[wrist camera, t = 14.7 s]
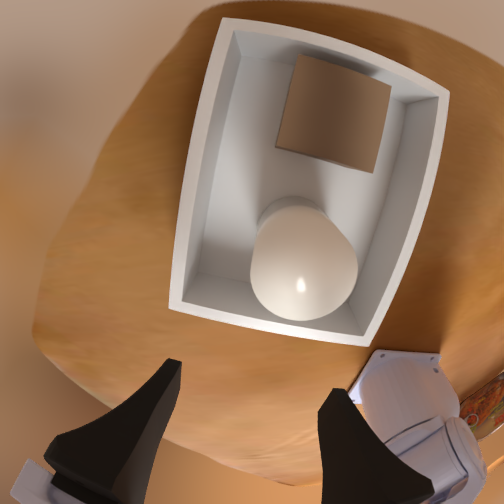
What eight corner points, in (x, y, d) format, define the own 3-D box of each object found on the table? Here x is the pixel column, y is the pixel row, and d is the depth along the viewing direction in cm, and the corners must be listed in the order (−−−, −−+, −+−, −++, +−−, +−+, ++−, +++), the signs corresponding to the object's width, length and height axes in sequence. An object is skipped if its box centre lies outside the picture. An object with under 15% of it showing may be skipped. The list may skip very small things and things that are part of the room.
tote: (413, 100, 15) (449, 91, 10) (351, 309, 21) (368, 346, 17) (233, 47, 15) (222, 17, 10) (189, 275, 21) (168, 308, 16)
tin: (515, 360, 24) (538, 391, 16) (512, 371, 25) (533, 401, 17) (447, 410, 27) (465, 449, 20) (446, 418, 28) (462, 455, 20)
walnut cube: (361, 100, 15) (391, 86, 10) (346, 167, 17) (372, 173, 12) (290, 79, 15) (298, 53, 10) (274, 147, 17) (276, 145, 12)
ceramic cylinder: (340, 215, 18) (376, 250, 12) (308, 275, 20) (324, 332, 13) (275, 183, 18) (279, 202, 11) (245, 248, 19) (233, 298, 13)
